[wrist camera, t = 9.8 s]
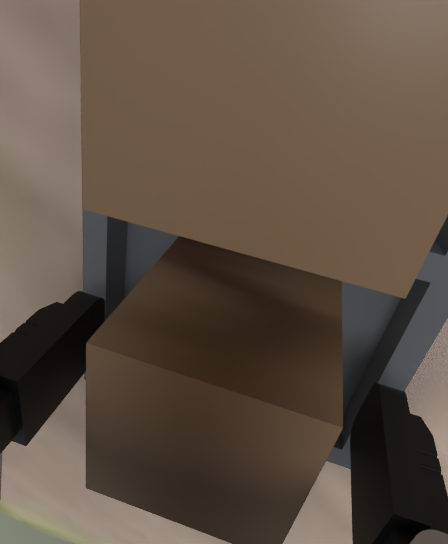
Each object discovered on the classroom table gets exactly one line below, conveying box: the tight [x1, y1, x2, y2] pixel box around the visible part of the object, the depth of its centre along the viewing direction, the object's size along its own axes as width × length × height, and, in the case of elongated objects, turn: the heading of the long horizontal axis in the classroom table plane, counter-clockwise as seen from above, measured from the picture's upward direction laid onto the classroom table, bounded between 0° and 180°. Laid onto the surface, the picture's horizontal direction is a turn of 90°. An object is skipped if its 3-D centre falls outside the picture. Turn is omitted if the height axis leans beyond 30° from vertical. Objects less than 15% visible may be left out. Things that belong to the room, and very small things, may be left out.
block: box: [86, 236, 343, 544], centre depth 11 cm, size 5×5×6 cm
